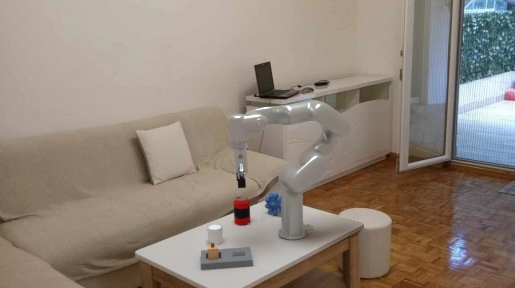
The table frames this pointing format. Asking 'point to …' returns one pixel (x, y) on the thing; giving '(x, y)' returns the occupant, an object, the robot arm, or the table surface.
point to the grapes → (273, 203)
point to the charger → (213, 251)
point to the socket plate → (227, 258)
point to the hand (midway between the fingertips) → (241, 184)
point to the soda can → (241, 211)
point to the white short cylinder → (215, 233)
